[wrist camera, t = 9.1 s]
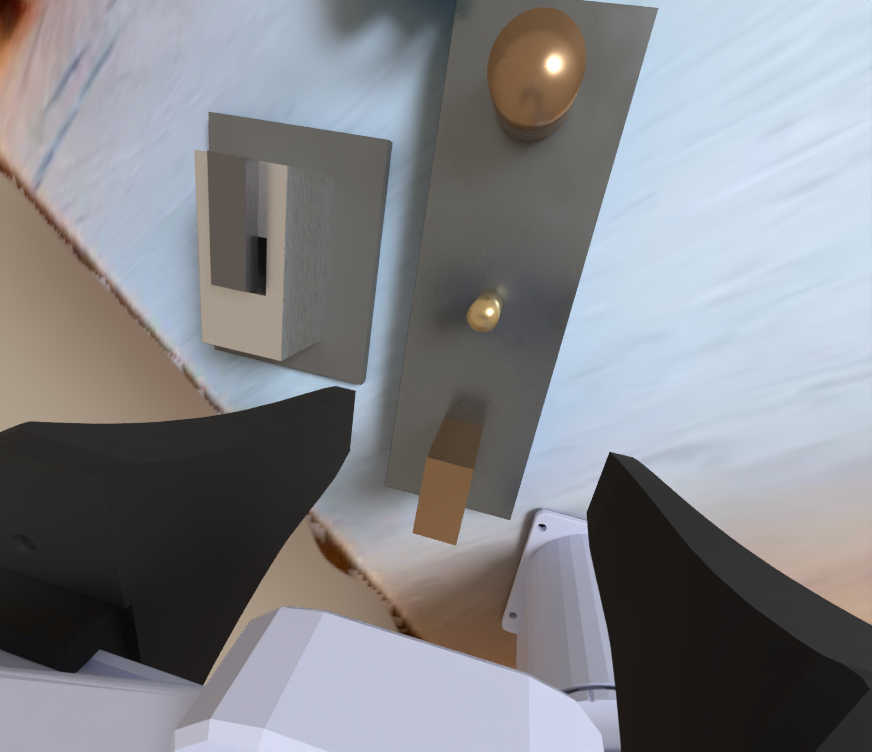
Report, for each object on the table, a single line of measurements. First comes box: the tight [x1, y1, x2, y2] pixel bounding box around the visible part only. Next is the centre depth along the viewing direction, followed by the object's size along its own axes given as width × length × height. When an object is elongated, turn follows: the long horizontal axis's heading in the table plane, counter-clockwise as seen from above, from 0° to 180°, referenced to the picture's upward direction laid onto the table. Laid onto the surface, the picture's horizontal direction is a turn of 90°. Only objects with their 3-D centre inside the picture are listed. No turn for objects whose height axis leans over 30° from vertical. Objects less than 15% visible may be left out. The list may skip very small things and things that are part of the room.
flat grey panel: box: [209, 112, 392, 385], centre depth 21 cm, size 12×9×1 cm
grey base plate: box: [385, 0, 658, 545], centre depth 18 cm, size 22×7×6 cm, turn 170°
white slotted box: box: [194, 150, 333, 361], centre depth 19 cm, size 8×4×5 cm, turn 170°
